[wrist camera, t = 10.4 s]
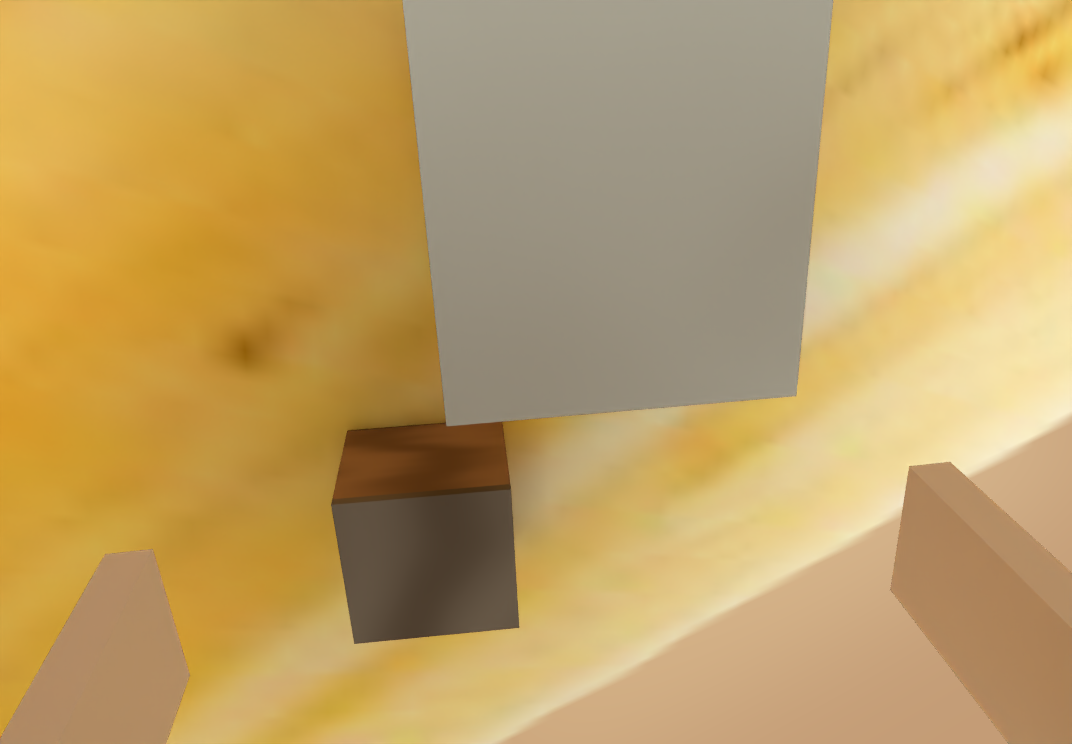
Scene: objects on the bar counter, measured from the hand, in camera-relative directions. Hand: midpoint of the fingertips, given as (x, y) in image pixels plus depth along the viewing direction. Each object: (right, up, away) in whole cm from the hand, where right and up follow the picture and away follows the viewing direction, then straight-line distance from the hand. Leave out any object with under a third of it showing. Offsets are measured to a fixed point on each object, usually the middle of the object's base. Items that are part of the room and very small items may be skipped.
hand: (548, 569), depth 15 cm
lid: (+2, +9, +11) cm, 14 cm away
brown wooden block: (-5, -2, +25) cm, 26 cm away
